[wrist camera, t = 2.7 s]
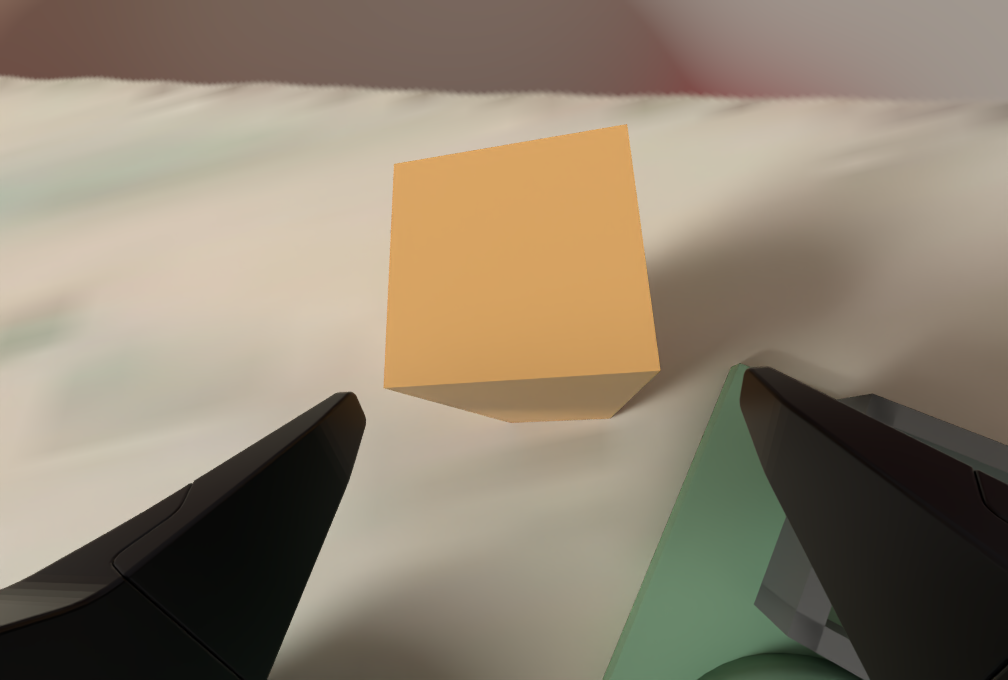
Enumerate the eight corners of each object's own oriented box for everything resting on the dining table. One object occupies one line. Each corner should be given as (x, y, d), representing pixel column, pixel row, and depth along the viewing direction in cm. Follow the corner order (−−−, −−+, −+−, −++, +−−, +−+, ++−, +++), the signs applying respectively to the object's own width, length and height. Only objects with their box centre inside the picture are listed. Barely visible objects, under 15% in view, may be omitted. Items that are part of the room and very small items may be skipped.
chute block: (610, 418, 18) (660, 370, 6) (510, 422, 19) (383, 388, 7) (600, 318, 19) (625, 117, 7) (506, 326, 20) (394, 157, 8)
